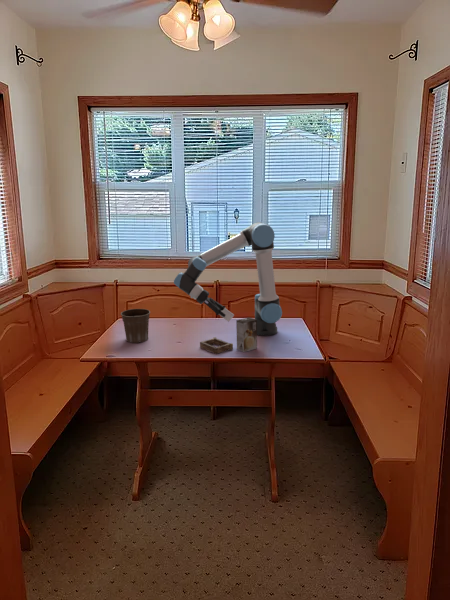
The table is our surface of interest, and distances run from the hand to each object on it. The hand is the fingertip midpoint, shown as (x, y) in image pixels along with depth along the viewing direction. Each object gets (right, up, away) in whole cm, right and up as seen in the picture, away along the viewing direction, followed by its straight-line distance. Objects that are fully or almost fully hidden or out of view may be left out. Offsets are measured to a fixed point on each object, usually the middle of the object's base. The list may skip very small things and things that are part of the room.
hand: (231, 318), depth 234 cm
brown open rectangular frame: (-9, -16, +1) cm, 18 cm away
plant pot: (-53, -13, +16) cm, 57 cm away
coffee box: (+8, -16, -1) cm, 18 cm away
